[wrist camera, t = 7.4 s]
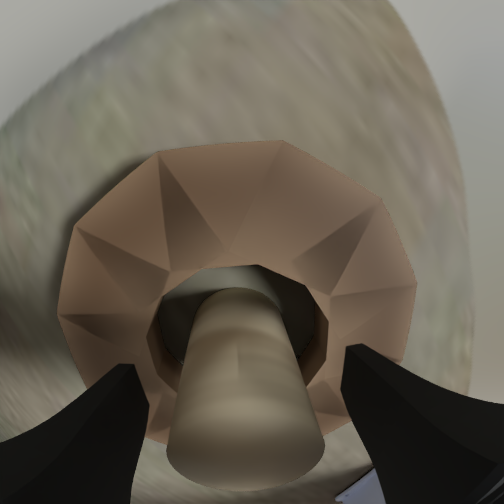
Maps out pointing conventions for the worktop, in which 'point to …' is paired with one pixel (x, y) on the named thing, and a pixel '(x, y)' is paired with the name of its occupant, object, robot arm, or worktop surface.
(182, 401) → the beech peg
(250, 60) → the worktop surface
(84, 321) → the walnut ring
